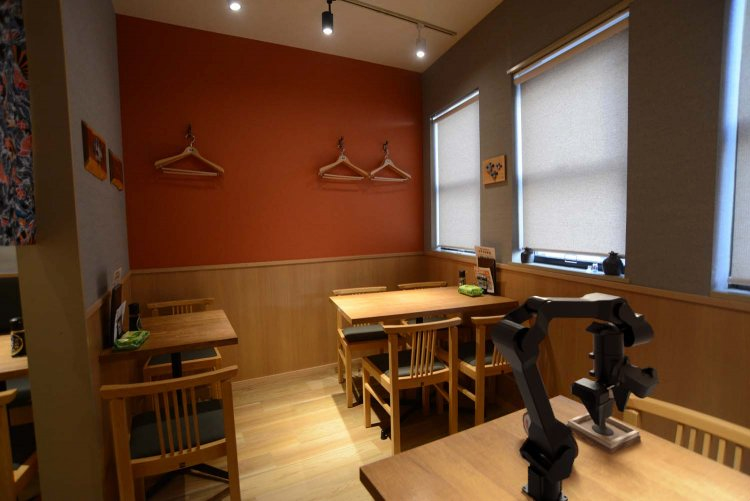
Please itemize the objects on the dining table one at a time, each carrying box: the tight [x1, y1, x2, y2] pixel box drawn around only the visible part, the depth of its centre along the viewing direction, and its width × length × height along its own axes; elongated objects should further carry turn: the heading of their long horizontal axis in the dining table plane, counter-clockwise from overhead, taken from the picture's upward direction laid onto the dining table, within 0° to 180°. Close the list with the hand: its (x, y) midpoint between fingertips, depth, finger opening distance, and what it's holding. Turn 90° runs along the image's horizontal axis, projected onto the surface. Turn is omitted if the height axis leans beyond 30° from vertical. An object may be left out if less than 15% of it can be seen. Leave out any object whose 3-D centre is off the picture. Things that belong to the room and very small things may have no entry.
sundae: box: [592, 388, 615, 436], centre depth 92 cm, size 7×7×15 cm
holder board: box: [565, 412, 642, 455], centre depth 93 cm, size 12×12×2 cm
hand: (609, 417), depth 78 cm, fingers open, 9 cm apart
